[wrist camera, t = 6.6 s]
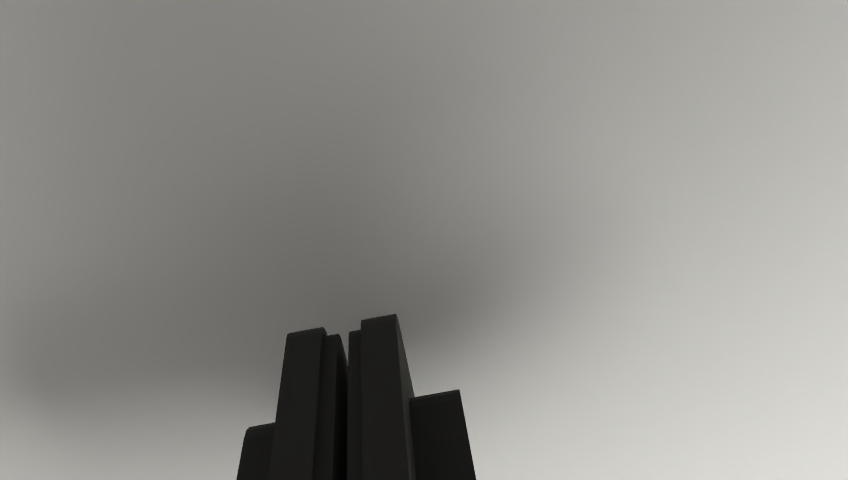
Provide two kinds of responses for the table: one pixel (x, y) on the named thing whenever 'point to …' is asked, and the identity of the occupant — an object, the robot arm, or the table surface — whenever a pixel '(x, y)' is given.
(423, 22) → the table surface
